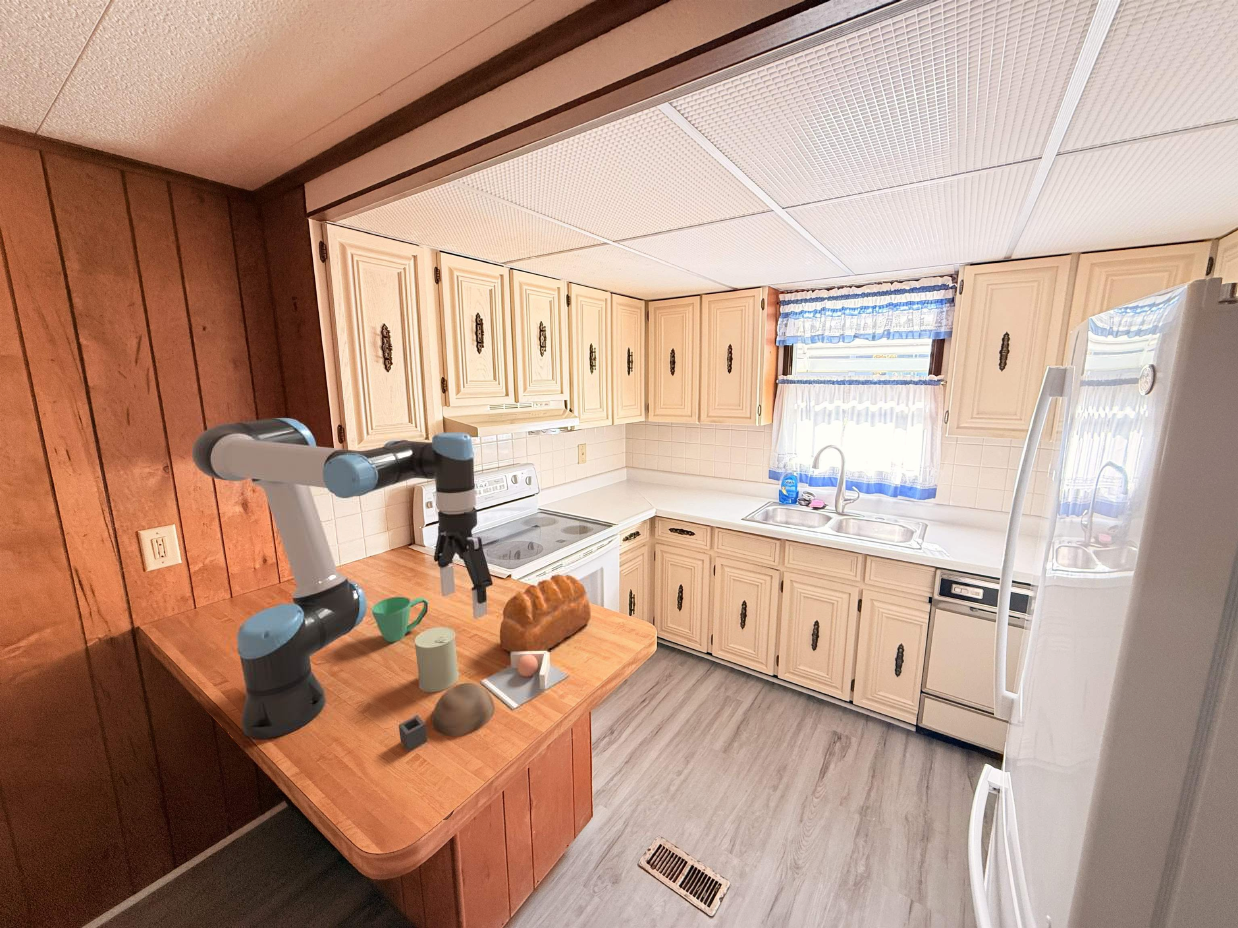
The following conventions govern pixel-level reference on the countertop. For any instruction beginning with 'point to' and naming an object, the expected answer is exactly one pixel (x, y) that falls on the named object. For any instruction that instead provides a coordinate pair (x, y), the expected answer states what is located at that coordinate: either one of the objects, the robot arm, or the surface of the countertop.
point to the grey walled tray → (523, 679)
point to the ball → (527, 665)
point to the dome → (462, 710)
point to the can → (436, 659)
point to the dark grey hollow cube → (413, 733)
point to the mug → (396, 616)
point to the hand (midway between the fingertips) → (463, 604)
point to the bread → (544, 614)
